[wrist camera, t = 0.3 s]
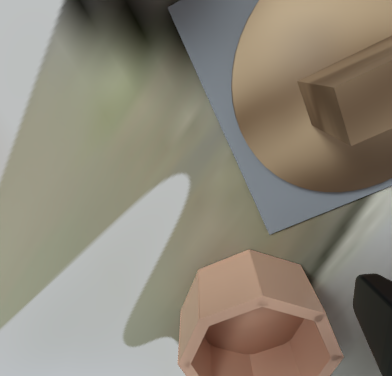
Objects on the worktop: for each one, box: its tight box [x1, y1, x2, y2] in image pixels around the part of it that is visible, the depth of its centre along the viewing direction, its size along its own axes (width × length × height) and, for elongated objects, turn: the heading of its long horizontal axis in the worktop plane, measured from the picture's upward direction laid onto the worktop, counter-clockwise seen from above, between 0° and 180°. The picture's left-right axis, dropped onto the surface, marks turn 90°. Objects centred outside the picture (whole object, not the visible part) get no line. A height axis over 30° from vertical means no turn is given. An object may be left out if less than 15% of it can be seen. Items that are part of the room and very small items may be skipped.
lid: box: [231, 0, 392, 192], centre depth 15 cm, size 14×14×6 cm
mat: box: [168, 0, 392, 235], centre depth 18 cm, size 16×16×1 cm
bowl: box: [178, 249, 344, 376], centre depth 23 cm, size 10×10×5 cm
